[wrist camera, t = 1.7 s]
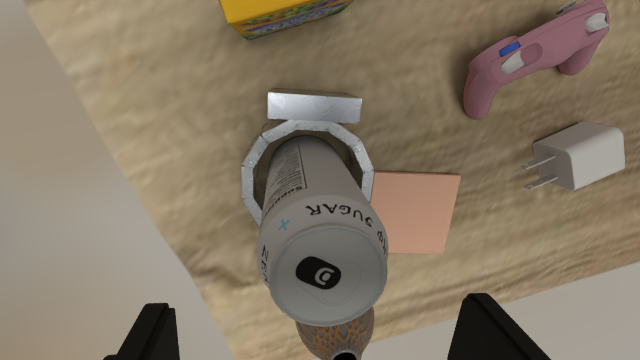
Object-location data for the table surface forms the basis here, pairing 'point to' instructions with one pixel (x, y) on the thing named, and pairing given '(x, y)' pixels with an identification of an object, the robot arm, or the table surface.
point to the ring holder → (306, 114)
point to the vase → (339, 338)
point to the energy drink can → (319, 237)
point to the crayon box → (275, 14)
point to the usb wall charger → (578, 156)
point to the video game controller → (536, 53)
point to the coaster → (415, 209)
